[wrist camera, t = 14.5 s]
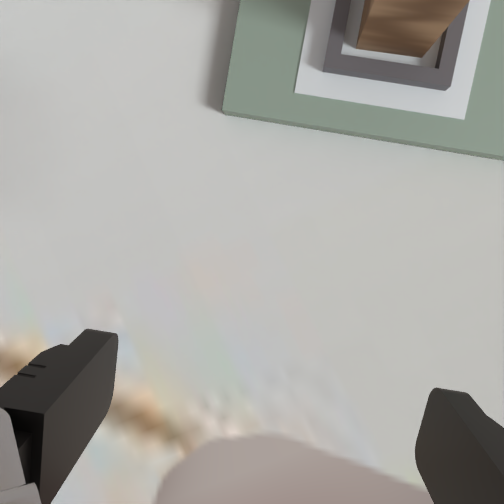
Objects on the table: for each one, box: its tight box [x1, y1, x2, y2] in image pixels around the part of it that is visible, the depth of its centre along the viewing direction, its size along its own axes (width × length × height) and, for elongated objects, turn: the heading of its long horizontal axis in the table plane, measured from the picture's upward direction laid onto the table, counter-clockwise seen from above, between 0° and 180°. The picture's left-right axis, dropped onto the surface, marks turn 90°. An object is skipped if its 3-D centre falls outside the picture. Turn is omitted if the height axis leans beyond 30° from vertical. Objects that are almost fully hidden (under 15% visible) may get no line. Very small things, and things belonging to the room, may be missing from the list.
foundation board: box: [222, 0, 504, 161], centre depth 30 cm, size 22×16×3 cm
